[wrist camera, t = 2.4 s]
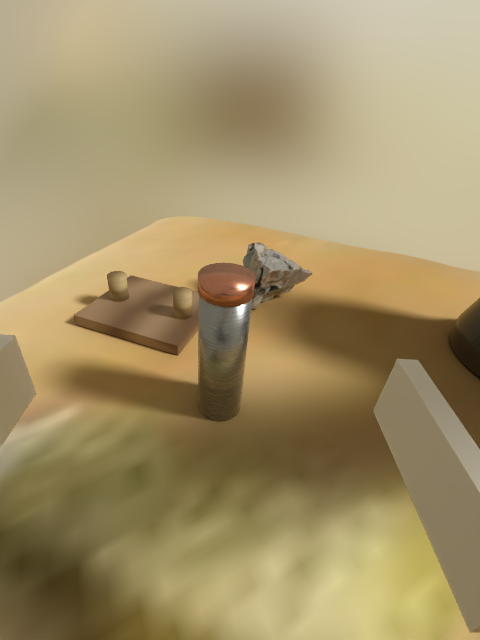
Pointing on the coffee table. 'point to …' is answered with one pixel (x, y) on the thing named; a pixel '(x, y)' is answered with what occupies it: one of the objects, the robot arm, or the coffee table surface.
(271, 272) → the mineral specimen
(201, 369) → the pin
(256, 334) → the coffee table surface
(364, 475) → the coffee table surface
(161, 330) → the peg rack
